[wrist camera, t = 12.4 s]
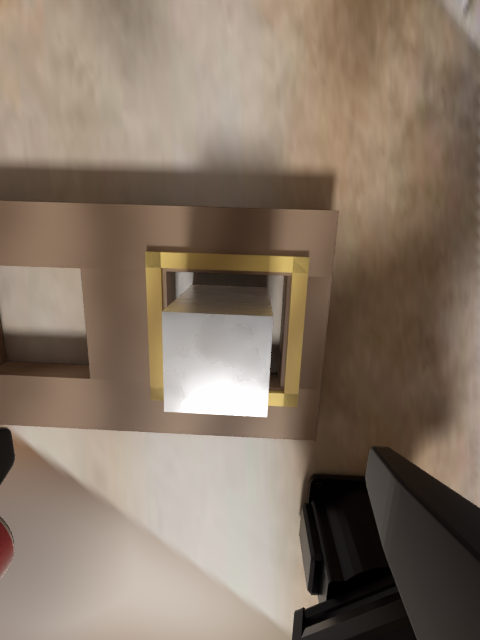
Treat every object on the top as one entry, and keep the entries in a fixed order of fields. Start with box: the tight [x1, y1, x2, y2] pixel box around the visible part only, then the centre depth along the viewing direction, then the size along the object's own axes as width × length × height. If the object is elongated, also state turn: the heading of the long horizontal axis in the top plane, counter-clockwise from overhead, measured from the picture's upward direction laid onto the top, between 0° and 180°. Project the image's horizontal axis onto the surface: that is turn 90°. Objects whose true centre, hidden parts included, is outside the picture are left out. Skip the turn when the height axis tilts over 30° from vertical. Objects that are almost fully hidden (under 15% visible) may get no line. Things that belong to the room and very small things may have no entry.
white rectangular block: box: [162, 285, 273, 417], centre depth 17 cm, size 4×4×7 cm
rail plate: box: [0, 201, 339, 441], centre depth 20 cm, size 22×13×2 cm, turn 88°
